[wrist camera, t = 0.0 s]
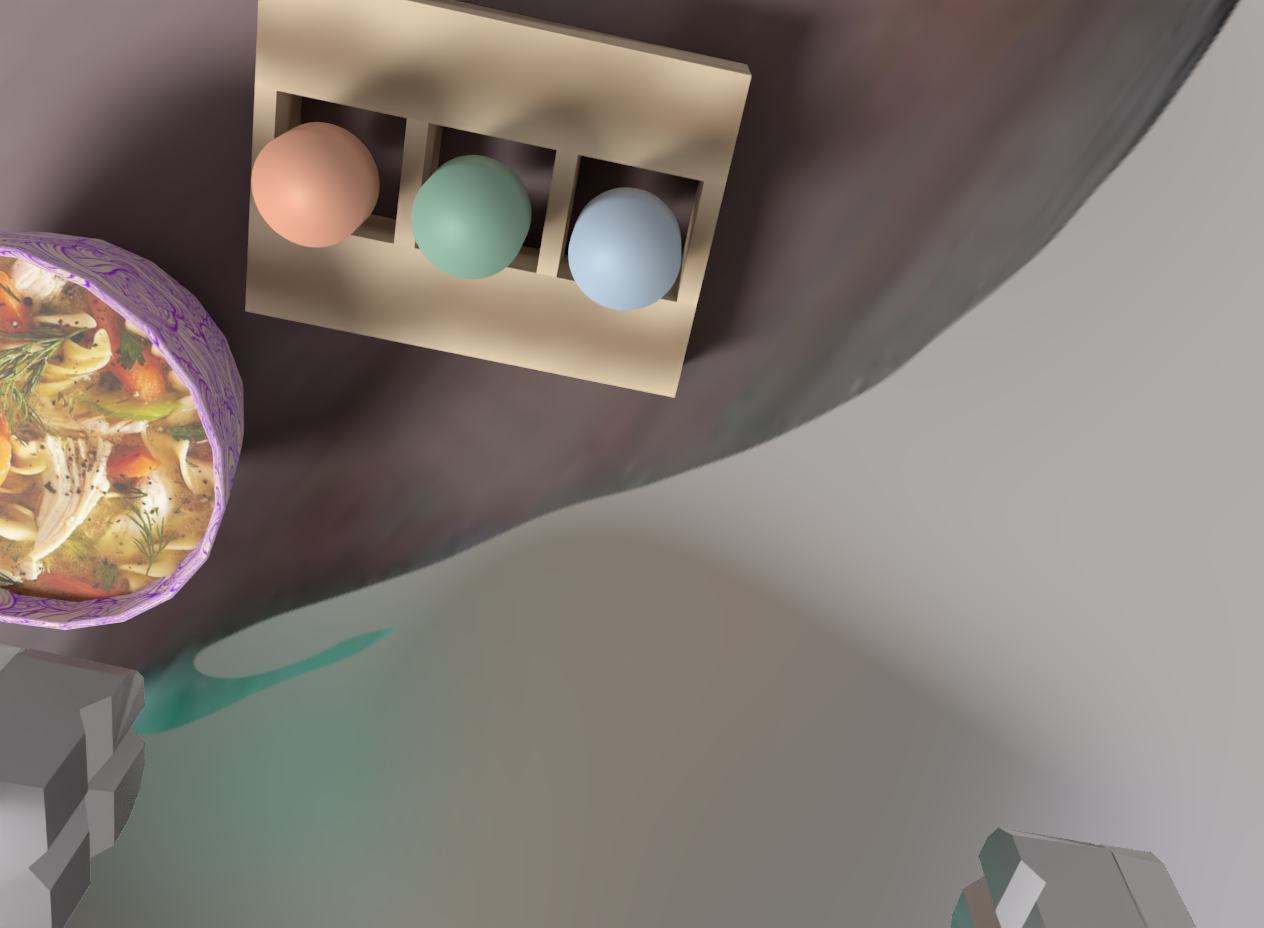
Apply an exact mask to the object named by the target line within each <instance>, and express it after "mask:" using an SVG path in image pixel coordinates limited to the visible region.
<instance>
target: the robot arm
mask: <svg viewBox="0 0 1264 928" xmlns="http://www.w3.org/2000/svg"><path fill="white" fill-rule="evenodd" d="M144 706H145V699H144V677H142V676H141V675H140V674H139V673H138V672H137V671H135V670H130V669H125V668H121V667H116V666H111V665H106V664H101V663H96V662H91V661H87V660H82V659H77V658H72V657H67V656H62V655H57V654H53V653H48V652H43V651H38V650H33V649H29V650H26V649H22V648H18V647H13V646H8V645H3V644H0V928H64V926H65V925H66V923H67V922H68V920H69V918H70V917H71V915H72V913H73V912H74V910H75V908H76V907H77V905H78V904H79V902H80V900H81V899H82V897H83V895H84V894H85V892H86V891H87V889H88V887H89V886H90V883H91V881H90V858H91V857H93V856H94V855H97V854H98V853H100V852H102V851H104V850H106V849H107V848H109V847H111V846H113V845H114V844H115V842H116V841H117V839H118V837H119V836H120V834H121V832H122V830H123V828H124V827H125V825H126V823H127V822H128V820H129V817H130V815H131V812H132V809H133V807H134V804H135V801H136V799H137V796H138V793H139V790H140V787H141V781H142V776H143V770H144V763H145V743H144V741H143V740H142V739H141V737H140V736H139V735H138V733H137V732H136V731H135V730H134V728H133V727H132V724H133V723H134V721H135V720H136V718H137V717H138V715H139V714H140V712H141V711H142V709H143V708H144ZM979 859H980V862H981V865H982V869H983V872H984V875H985V876H984V877H982V878H980V879H979V880H977V881H976V882H974V883H972V884H970V885H969V886H967V887H965V888H964V889H963V890H962V892H961V895H960V897H959V900H958V902H957V905H956V907H955V909H954V911H953V914H952V920H951V928H1196V926H1195V924H1194V922H1193V920H1192V918H1191V916H1190V914H1189V912H1188V911H1187V908H1186V906H1185V905H1184V903H1183V901H1182V899H1181V897H1180V895H1179V893H1178V891H1177V889H1176V887H1175V885H1174V883H1173V881H1172V879H1171V877H1170V875H1169V873H1168V871H1167V870H1166V867H1165V866H1164V864H1163V863H1162V861H1160V860H1159V859H1158V858H1157V857H1156V856H1155V855H1154V854H1153V853H1151V852H1145V851H1139V850H1133V849H1126V848H1120V847H1114V846H1108V845H1102V844H1101V845H1095V844H1091V843H1086V842H1080V841H1074V840H1068V839H1062V838H1057V837H1051V836H1045V835H1039V834H1033V833H1028V832H1022V831H1016V830H1011V829H1005V828H998V829H996V830H995V831H994V832H993V833H992V834H991V835H990V836H989V837H988V838H987V840H986V842H985V844H984V846H983V848H982V850H981V852H980V854H979Z"/></svg>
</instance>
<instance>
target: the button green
mask: <svg viewBox="0 0 1264 928" xmlns="http://www.w3.org/2000/svg"><path fill="white" fill-rule="evenodd" d="M530 223H531V204H530V199H529V196H528V193H527V191H526V188H525V186H524V185H523V183H522V181H521V180H520V179H519V177H518V176H517V175H516V174H515V173H514V172H513V171H512V170H511V169H510V168H509V167H507V166H506V165H504V164H503V163H501V162H499V161H497V160H495V159H493V158H490V157H486V156H480V155H466V156H461V157H457V158H454V159H452V160H449V161H448V162H446V163H444V164H443V165H442V166H441V167H439V168H438V169H437V170H436V171H435V172H434V173H433V175H432V176H431V177H430V178H429V179H428V180H427V181H426V182H425V183H424V184H423V185H422V187H421V188H420V190H419V191H418V193H417V195H416V197H415V200H414V203H413V206H412V212H411V224H412V230H413V235H414V237H415V240H416V243H417V245H418V247H419V248H420V250H421V251H422V253H423V254H424V256H425V257H426V258H427V259H428V260H429V261H430V262H431V263H432V264H433V265H434V266H436V267H437V268H438V269H440V270H441V271H443V272H445V273H447V274H449V275H452V276H455V277H458V278H463V279H482V278H486V277H490V276H492V275H495V274H497V273H499V272H500V271H502V270H503V269H505V268H506V267H507V266H508V265H509V264H510V263H511V262H512V261H513V260H514V259H515V257H516V256H517V254H518V252H519V251H520V249H521V246H522V244H523V242H524V240H525V238H526V236H527V233H528V231H529V228H530Z"/></svg>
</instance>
